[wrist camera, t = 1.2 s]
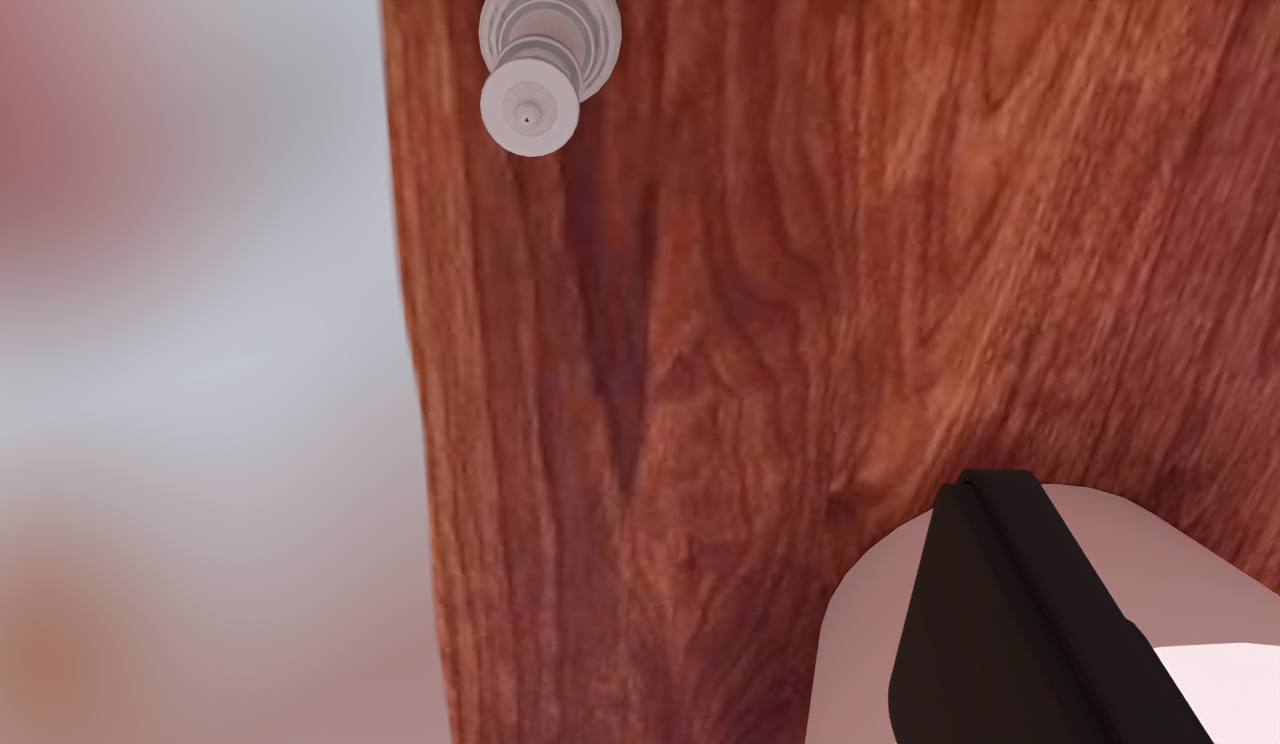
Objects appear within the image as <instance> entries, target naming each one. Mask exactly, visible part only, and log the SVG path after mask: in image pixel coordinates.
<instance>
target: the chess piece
mask: <svg viewBox="0 0 1280 744" xmlns="http://www.w3.org/2000/svg"><path fill="white" fill-rule="evenodd" d="M621 39H622V30H621V15H620V12H619V9H618V6H617V3H616V0H485V3H484V5H483V8H482V12H481V16H480V25H479V40H480V47H481V53H482V55H483V58H484V60H485V63H486V65H487V68H488V70H489V71H490V73H491V74H490V75H489V77H488V78H487V79H486V82H485V84H484V87H483V89H482V93H481V102H480V108H481V115H482V119H483V122H484V124H485V126H486V129H487V131H488V132H489V133H490V135H491V136H492V137H493V139H494V140H495V141H496V142H497V143H498V144H500V145H501V146H502V147H503V148H505V149H506V150H509V151H511V152H513V153H515V154H518V155H523V156H528V157H531V156H543V155H546V154H549V153H551V152H554V151H556V150H557V149H559V148H560V147H562V146H563V145H564V144H565V143H566V142H567V141H568V140H569V138H570V137H571V136H572V135H573V132H574V130H575V128H576V126H577V124H578V120H579V114H580V104H579V103H580V102H583V101H584V100H586V99H587V98H589V97H590V96H592V95H593V94H595V93H596V92H597V91H598V90H599V89H600V88H601V87H602V86H603V84H604V83H605V82H606V81H607V80H608V78H609V77H610V75H611V73H612V70H613V68H614V66H615V64H616V62H617V58H618V55H619V50H620V45H621Z"/></svg>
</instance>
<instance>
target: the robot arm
mask: <svg viewBox="0 0 1280 744" xmlns="http://www.w3.org/2000/svg"><path fill="white" fill-rule="evenodd" d="M888 710H889V717H890V722H891V726H892V730H893V733H894V736H895V739H896V743H897V744H1214V742H1213V741H1212V739H1211V738H1210V736H1209V735H1208V733H1207V732H1206V730H1205V728H1204V727H1203V725H1202V724H1201V722H1200V721H1199V719H1198V718H1197V716H1196V715H1195V713H1194V711H1193V710H1192V708H1191V707H1190V705H1189V704H1188V702H1187V701H1186V699H1185V697H1184V696H1183V694H1182V693H1181V691H1180V690H1179V688H1178V687H1177V685H1176V683H1175V682H1174V680H1173V679H1172V677H1171V676H1170V674H1169V673H1168V671H1167V669H1166V668H1165V666H1164V665H1163V663H1162V662H1161V660H1160V659H1159V657H1158V655H1157V654H1156V652H1155V651H1154V649H1153V648H1152V646H1151V645H1150V643H1149V641H1148V640H1147V638H1146V637H1145V636H1144V634H1143V633H1142V632H1141V631H1140V630H1139V629H1138V627H1137V626H1136V625H1135V624H1134V623H1133V622H1131V621H1130V620H1128V619H1126V618H1125V617H1124V615H1123V613H1122V612H1121V610H1120V609H1119V607H1118V605H1117V604H1116V602H1115V601H1114V599H1113V598H1112V596H1111V594H1110V593H1109V591H1108V590H1107V588H1106V587H1105V585H1104V583H1103V582H1102V580H1101V579H1100V577H1099V575H1098V574H1097V572H1096V571H1095V569H1094V568H1093V566H1092V564H1091V563H1090V561H1089V560H1088V558H1087V557H1086V555H1085V553H1084V552H1083V550H1082V549H1081V547H1080V545H1079V544H1078V542H1077V541H1076V539H1075V538H1074V536H1073V534H1072V533H1071V531H1070V530H1069V528H1068V527H1067V525H1066V523H1065V522H1064V520H1063V519H1062V517H1061V515H1060V514H1059V512H1058V511H1057V509H1056V508H1055V506H1054V504H1053V503H1052V501H1051V500H1050V498H1049V497H1048V495H1047V493H1046V492H1045V490H1044V489H1043V487H1042V485H1041V484H1040V482H1039V481H1038V479H1037V478H1036V477H1035V476H1034V475H1033V474H1032V472H1029V471H1027V470H1008V469H966V470H964V471H962V473H961V474H960V475H959V477H958V479H957V482H956V484H944V485H942V486H941V487H940V489H939V491H938V493H937V496H936V500H935V504H934V508H933V512H932V516H931V520H930V523H929V527H928V531H927V535H926V539H925V543H924V547H923V551H922V555H921V559H920V563H919V567H918V571H917V575H916V579H915V583H914V587H913V591H912V595H911V599H910V603H909V607H908V611H907V615H906V619H905V623H904V627H903V631H902V635H901V638H900V642H899V646H898V650H897V654H896V658H895V662H894V666H893V670H892V674H891V678H890V682H889V688H888Z"/></svg>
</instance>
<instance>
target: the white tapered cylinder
mask: <svg viewBox="0 0 1280 744" xmlns="http://www.w3.org/2000/svg"><path fill="white" fill-rule="evenodd" d="M1041 485H1042V487H1043V489H1044V490H1045V492H1046V493H1047V495H1048V497H1049V498H1050V500H1051V501H1052V503H1053V504H1054V506H1055V508H1056V509H1057V511H1058V512H1059V514H1060V515H1061V517H1062V519H1063V520H1064V522H1065V523H1066V525H1067V527H1068V528H1069V530H1070V531H1071V533H1072V534H1073V536H1074V538H1075V539H1076V541H1077V542H1078V544H1079V545H1080V547H1081V549H1082V550H1083V552H1084V553H1085V555H1086V557H1087V558H1088V560H1089V561H1090V563H1091V564H1092V566H1093V568H1094V569H1095V571H1096V572H1097V574H1098V575H1099V577H1100V579H1101V580H1102V582H1103V583H1104V585H1105V587H1106V588H1107V590H1108V591H1109V593H1110V594H1111V596H1112V598H1113V599H1114V601H1115V602H1116V604H1117V605H1118V607H1119V609H1120V610H1121V612H1122V613H1123V615H1124V617H1125V618H1126V619H1128V620H1130V621H1131V622H1133V623H1134V624H1135V625H1136V626H1137V627H1138V629H1139V630H1140V631H1141V632H1142V633H1143V634H1144V636H1145V637H1146V638H1147V640H1148V641H1149V643H1150V645H1151V646H1152V648H1153V649H1154V651H1155V652H1156V654H1157V655H1158V657H1159V659H1160V660H1161V662H1162V663H1163V665H1164V666H1165V668H1166V669H1167V671H1168V673H1169V674H1170V676H1171V677H1172V679H1173V680H1174V682H1175V683H1176V685H1177V687H1178V688H1179V690H1180V691H1181V693H1182V694H1183V696H1184V697H1185V699H1186V701H1187V702H1188V704H1189V705H1190V707H1191V708H1192V710H1193V711H1194V713H1195V715H1196V716H1197V718H1198V719H1199V721H1200V722H1201V724H1202V725H1203V727H1204V728H1205V730H1206V732H1207V733H1208V735H1209V736H1210V738H1211V739H1212V741H1213V742H1214V744H1280V596H1279V595H1278V594H1276V593H1275V592H1273V591H1271V590H1270V589H1268V588H1267V587H1265V586H1264V585H1262V584H1261V583H1259V582H1258V581H1256V580H1255V579H1253V578H1251V577H1250V576H1248V575H1247V574H1245V573H1244V572H1242V571H1241V570H1239V569H1238V568H1236V567H1235V566H1233V565H1231V564H1230V563H1228V562H1227V561H1225V560H1224V559H1222V558H1221V557H1219V556H1218V555H1216V554H1215V553H1213V552H1211V551H1210V550H1208V549H1207V548H1205V547H1204V546H1202V545H1201V544H1199V543H1198V542H1196V541H1195V540H1193V539H1191V538H1190V537H1188V536H1187V535H1185V534H1184V533H1182V532H1181V531H1179V530H1178V529H1176V528H1175V527H1173V526H1171V525H1170V524H1168V523H1167V522H1165V521H1164V520H1162V519H1161V518H1159V517H1158V516H1156V515H1155V514H1153V513H1151V512H1149V511H1148V510H1146V509H1144V508H1142V507H1140V506H1138V505H1137V504H1135V503H1133V502H1131V501H1129V500H1127V499H1126V498H1124V497H1120V496H1117V495H1113V494H1110V493H1107V492H1103V491H1100V490H1096V489H1093V488H1089V487H1079V486H1070V485H1060V484H1041ZM932 512H933V509H931V510H929V511H927V512H925V513H923V514H921V515H920V516H918V517H916V518H914V519H912V520H910V521H908V522H907V523H905V524H903V525H901V526H899V527H898V528H896V529H895V530H894V531H892V532H891V533H890V534H888V535H887V536H886V537H884V538H883V539H882V540H881V541H879V542H878V543H877V544H875V545H874V546H873V547H871V548H870V549H869V550H868V551H867V552H866V553H865V554H864V555H863V556H862V557H861V558H860V559H859V561H858V562H857V563H856V564H855V565H854V566H853V567H852V568H851V569H850V570H849V571H848V572H847V573H846V575H845V576H844V578H843V580H842V581H841V583H840V584H839V586H838V588H837V589H836V591H835V593H834V594H833V596H832V598H831V599H830V601H829V604H828V607H827V610H826V613H825V616H824V619H823V622H822V625H821V630H820V637H819V644H818V652H817V659H816V666H815V673H814V681H813V688H812V695H811V703H810V710H809V717H808V724H807V732H806V739H805V744H897V743H896V739H895V736H894V733H893V730H892V726H891V722H890V717H889V710H888V688H889V682H890V678H891V674H892V670H893V666H894V662H895V658H896V654H897V650H898V646H899V642H900V638H901V635H902V631H903V627H904V623H905V619H906V615H907V611H908V607H909V603H910V599H911V595H912V591H913V587H914V583H915V579H916V575H917V571H918V567H919V563H920V559H921V555H922V551H923V547H924V543H925V539H926V535H927V531H928V527H929V523H930V520H931V516H932Z"/></svg>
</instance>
